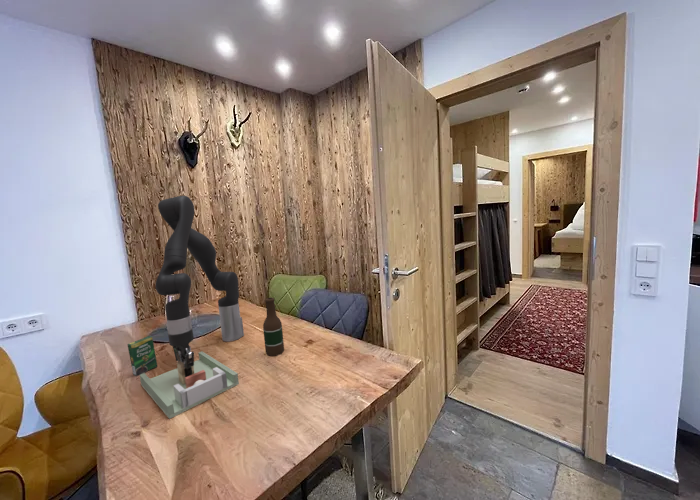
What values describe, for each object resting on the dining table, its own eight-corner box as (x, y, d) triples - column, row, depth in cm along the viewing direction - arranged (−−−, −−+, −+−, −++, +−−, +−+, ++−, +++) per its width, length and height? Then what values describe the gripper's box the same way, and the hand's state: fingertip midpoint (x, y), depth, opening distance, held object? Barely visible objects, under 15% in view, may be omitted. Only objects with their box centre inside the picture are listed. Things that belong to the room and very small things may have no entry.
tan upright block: (193, 374, 109) (191, 356, 108) (206, 384, 101) (204, 365, 100) (176, 381, 104) (173, 363, 104) (188, 393, 97) (185, 373, 96)
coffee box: (135, 377, 112) (130, 344, 111) (132, 375, 114) (126, 343, 112) (157, 367, 119) (153, 336, 118) (154, 365, 121) (149, 335, 119)
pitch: (203, 360, 123) (202, 351, 122) (238, 384, 103) (237, 373, 102) (141, 385, 106) (139, 374, 106) (169, 419, 86) (167, 406, 86)
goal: (218, 380, 104) (216, 367, 104) (227, 386, 100) (225, 373, 99) (175, 400, 94) (173, 385, 93) (183, 408, 89) (181, 393, 89)
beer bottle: (261, 354, 124) (256, 300, 121) (274, 347, 131) (269, 295, 128) (275, 357, 121) (270, 301, 118) (288, 349, 127) (283, 296, 125)
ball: (209, 390, 98) (204, 388, 100) (207, 378, 98) (202, 376, 100) (196, 396, 95) (192, 394, 97) (194, 384, 95) (190, 382, 97)
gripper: (199, 330, 101) (205, 376, 103) (184, 322, 111) (189, 364, 113) (175, 337, 96) (182, 386, 98) (161, 328, 105) (168, 373, 107)
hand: (186, 374), depth 105 cm, fingers closed on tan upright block, 4 cm apart
